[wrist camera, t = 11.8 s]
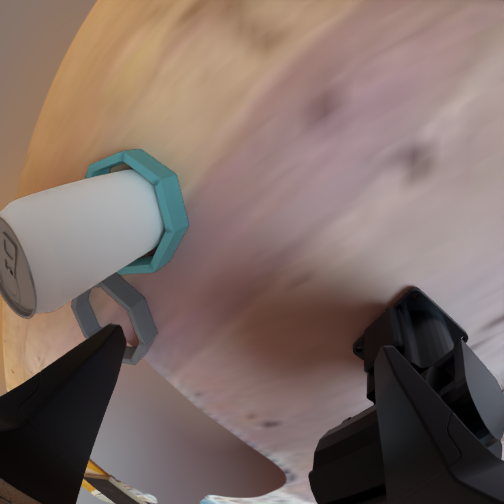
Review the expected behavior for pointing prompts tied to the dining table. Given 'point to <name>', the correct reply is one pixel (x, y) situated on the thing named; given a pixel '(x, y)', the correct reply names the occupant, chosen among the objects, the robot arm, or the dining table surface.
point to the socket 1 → (167, 200)
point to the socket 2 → (131, 303)
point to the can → (74, 238)
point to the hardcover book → (113, 490)
